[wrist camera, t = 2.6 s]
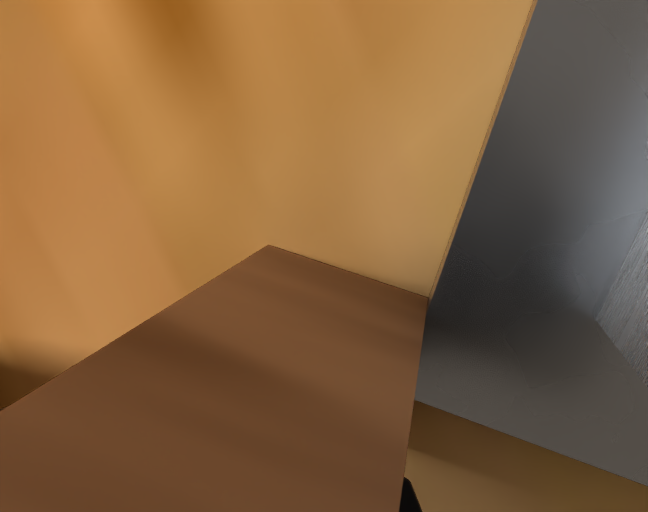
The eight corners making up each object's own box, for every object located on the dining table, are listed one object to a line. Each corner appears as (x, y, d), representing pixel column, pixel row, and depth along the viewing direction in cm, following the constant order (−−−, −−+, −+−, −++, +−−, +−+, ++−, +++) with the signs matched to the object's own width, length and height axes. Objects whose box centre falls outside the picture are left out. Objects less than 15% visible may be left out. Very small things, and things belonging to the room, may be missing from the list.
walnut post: (378, 437, 12) (130, 1496, 3) (237, 382, 13) (-353, 1073, 3) (428, 297, 11) (282, 1360, 1) (268, 244, 12) (-531, 742, 2)
